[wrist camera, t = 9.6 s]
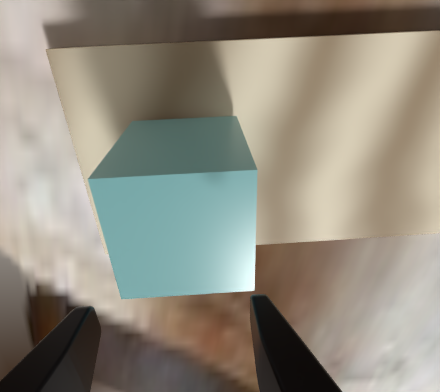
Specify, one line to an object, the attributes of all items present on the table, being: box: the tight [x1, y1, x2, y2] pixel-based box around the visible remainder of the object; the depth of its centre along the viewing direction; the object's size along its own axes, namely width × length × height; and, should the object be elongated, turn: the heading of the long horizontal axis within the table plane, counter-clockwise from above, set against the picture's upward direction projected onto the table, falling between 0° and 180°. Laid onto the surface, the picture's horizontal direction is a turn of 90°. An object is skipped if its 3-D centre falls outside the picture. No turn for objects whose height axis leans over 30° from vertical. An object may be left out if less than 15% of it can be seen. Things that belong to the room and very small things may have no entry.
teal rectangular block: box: [88, 116, 258, 299], centre depth 13 cm, size 5×5×7 cm
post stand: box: [46, 30, 440, 254], centre depth 14 cm, size 24×12×8 cm, turn 92°
